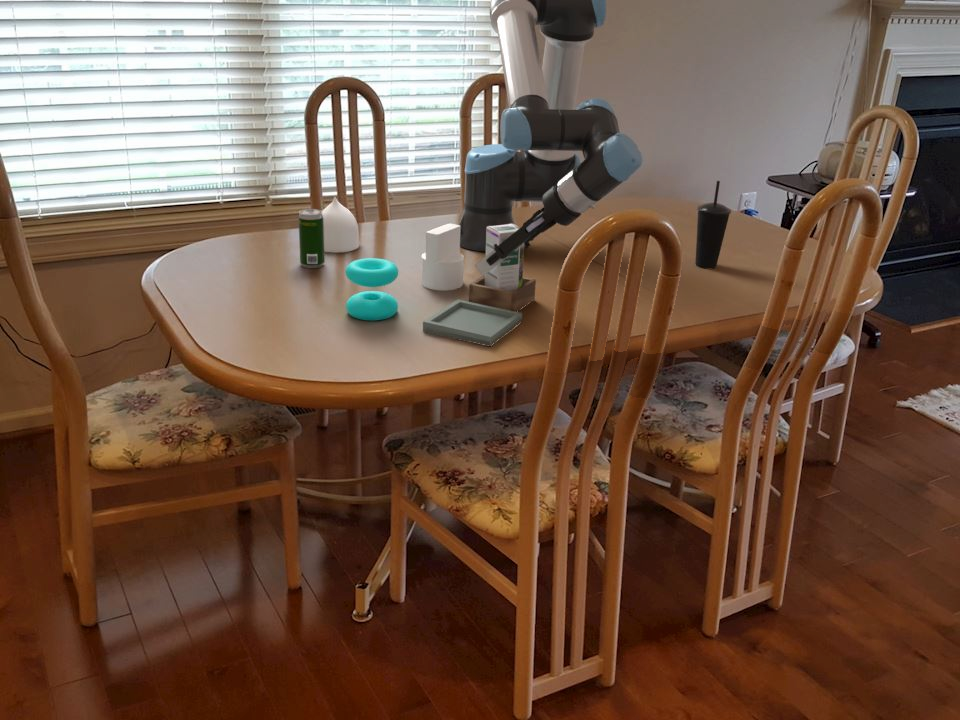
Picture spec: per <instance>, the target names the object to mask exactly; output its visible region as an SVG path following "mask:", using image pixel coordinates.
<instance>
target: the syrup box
mask: <svg viewBox="0 0 960 720" xmlns="http://www.w3.org/2000/svg"><path fill="white" fill-rule="evenodd" d="M519 228H521V226H518V225H517V224H515V225H514V224H512V223H511V224H506V225H497V226H487V229H486V251H485V257H486V256H487V255H488V254H489V253H490V252H492V251H493V250H494V248H495V247H494V246H493V245H494V244H497V245H500V244H501V243H502V242H503V241H505V240H506V239H507V238H508V237H510V236H511V235H512V234H513V233H515V232H516V231H517V230H518V229H519ZM524 253H525V245H524V243H523V244H522V245H520V246H519V247H518V248H517V249H515V250H514V251H513V252H511V253H510V254H509V255H508V256H507V258H505V259H504V260H503V261H502V262H500V263H499V264H498V265H497V266H495V267H494V268H493V269H492V270H491V271H489V272H488V273H487V274H486V275H485V286H487V287H492V288H497V289H502V290H507V291H512V292H514V291H515V290H517V289H518V288H520V287H521V286H522V277H524V275H523V274H524V259H525V258H524V255H525V254H524Z"/></svg>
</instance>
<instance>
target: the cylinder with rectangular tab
mask: <svg viewBox="0 0 960 720" xmlns="http://www.w3.org/2000/svg"><path fill="white" fill-rule="evenodd" d="M460 228H461V226H460V225H459V224H455V223H450V222H449V223H446V224H444V225H441V226H438V227H435V228H433V229H431V230H428V231H427V230H426V232H425V252H424V253H422V254H421V260H420V262H421V267H420V268H421V269H420V274H421V276H420V277H421V278H420V284H421V286H422V287H424V288H427V289H430V290H433V291H434V290H435V291H453V290H457V288H458V289H460V288H462V287H463V285H464V271H465V270H464V267H465V265H464V264H465V257H464V255H463V253H461V251H460V250H461V246H460Z"/></svg>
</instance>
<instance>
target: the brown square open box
mask: <svg viewBox="0 0 960 720" xmlns="http://www.w3.org/2000/svg"><path fill="white" fill-rule="evenodd" d="M536 282H537V279H534V278H530V277H525V276H523V277H522V286H521V287H520V288H518V289H517V290H515V291H514V292H512V291H507V290H502V289H497V288H492V287H487V286H485V275H484V276H482V275H481V276H480V277H479V278H477V279H475V280H474V281H473V282H471V283H470V284H468V285H469V286H468V302H472V303H477V304H481V305H486V306H491V307H495V308H500V309H505V310H509V311H514V312H517V311H519V310H520V309H521V308H522V307H524V306H525V305H527V304H528V303H529V302H531V301H532V300H534V301H535V299H536V298H535V295H536V284H537V283H536ZM531 303H532V302H531ZM527 306H528V305H527ZM519 312H520V311H519Z"/></svg>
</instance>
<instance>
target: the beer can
mask: <svg viewBox="0 0 960 720" xmlns="http://www.w3.org/2000/svg"><path fill="white" fill-rule="evenodd" d="M322 211H323V210H321V209H316V208H308V209H307V208H305V209H302V210H299V211H298V212H299V214H298V237H299V263H300V264H301V267H304V268H306V269H318V268H321V267H323V266H324V264H325V261H326V260H325V259H326V258H325V252H324V221H323V214H322Z"/></svg>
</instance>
